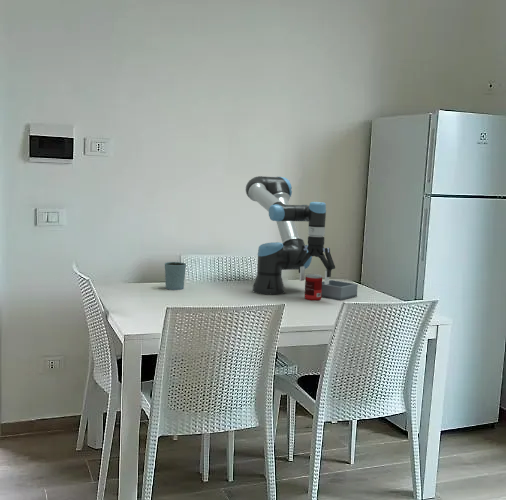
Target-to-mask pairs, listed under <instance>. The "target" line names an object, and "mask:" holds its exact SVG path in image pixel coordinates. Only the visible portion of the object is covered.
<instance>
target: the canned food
mask: <svg viewBox="0 0 506 500" xmlns="http://www.w3.org/2000/svg"><path fill="white" fill-rule="evenodd" d="M304 282H305V283H304V299H305V300H307V301H321V299H322V297H321V292H322V282H323V275H321V274H318V273H317V274H316V273H313V274H312V273H308V274H305V277H304Z"/></svg>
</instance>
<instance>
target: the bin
mask: <svg viewBox="0 0 506 500" xmlns="http://www.w3.org/2000/svg"><path fill="white" fill-rule="evenodd" d="M324 282H325V280H324V281H323V280H322V292H321V298H325V299H331V300H336V301H343V300H348V299H353V298H356V297H355V296H357V297H358V286H359V285H358V283H353V282H347V281H340V280H334V279H329V284H327V285H325V284H324ZM352 297H353V298H352Z"/></svg>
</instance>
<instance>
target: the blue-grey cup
mask: <svg viewBox="0 0 506 500" xmlns="http://www.w3.org/2000/svg"><path fill="white" fill-rule="evenodd" d="M186 266H187V263H185V262H182V261H181V262H179V261H169V262H168V261H167V262H165V263H164V270H165V271H164V272H165V273H164V274H165V276H164V277H165V279H164V280H165V289H166V290H170V291H180V290H184V289H185V277H186V269H187V267H186Z"/></svg>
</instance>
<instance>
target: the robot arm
mask: <svg viewBox="0 0 506 500" xmlns="http://www.w3.org/2000/svg"><path fill="white" fill-rule="evenodd" d="M245 185H246V186H245V193H246V196H247V197H248V198H249V199H250V200H251V201H253V202H256V203H258V204H259V205H260V206H261V207H263V208H264V209H265V210H266V211H267V212H268V217H269V219H270V220H271V221H273V222H276V226H277V228H278V232H279V235H280V238H281V239H280V240H281V242H278V241H277V242H266V243H262V244H260V245H259V246H258V252H257V270H256V271H257V273H256V278H255V280H254V283H253V286H252V292H253V291H254V292H253V293H255V292H257V293H256V294H260V293H261V295H281V294H285V286H284V281H283V277H282V274H283V273H282V272H283V270H284V271H286V270H287V271H290V270H295V271H297V270H298V273H299V279H298V280H299V281H300V282H302V281H305V270H307V269H308V268H309V267H310V265H311V263H312V258H313V257H315V258H319V259H320V261H321V263H322V265H323V266H324V267H325V270H324V281H325V282H324V284H325V285H327V284H329V280H330V278H331V277H332V270H334V269H336V265H335V262H334V260H333V257H332V255H331V248H330V247H324V246H325V237H324V236H326V217H327V216H326V215H327V205H326V202H323V201H321V202H320V201H311V202H309V205H308V204H289V201H290V200H291V197H292V193H293V191H292V184H291V182H290V180H289V179H288V178H287V177H281V176H263V175H262V176H261V175H260V176H255V177H251V178H250V180H248V182H247V184H245ZM295 222H308V228H307V229H308V230H307V231H308V233H307V234H308V236H307V244H305V241H304V239H303V238H302V237H300V236H299V231H298V229H297V226H296V223H295Z"/></svg>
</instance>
